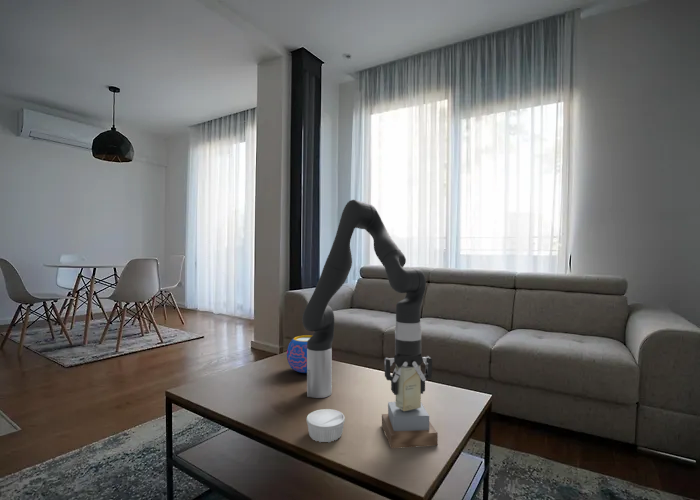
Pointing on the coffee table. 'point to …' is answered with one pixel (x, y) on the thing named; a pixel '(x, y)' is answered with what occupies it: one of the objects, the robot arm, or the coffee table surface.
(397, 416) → the slate top block
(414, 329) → the robot arm
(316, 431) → the ramekin
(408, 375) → the skincare box
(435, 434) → the walnut base block
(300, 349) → the ceramic pot
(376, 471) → the coffee table surface
